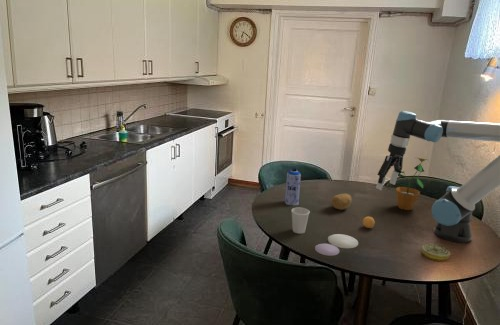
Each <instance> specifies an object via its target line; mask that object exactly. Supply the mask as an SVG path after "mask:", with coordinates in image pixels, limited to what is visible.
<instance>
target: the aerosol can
mask: <svg viewBox="0 0 500 325" xmlns="http://www.w3.org/2000/svg"><path fill="white" fill-rule="evenodd" d="M301 177H302V175H301V172H300V171H298V170H297V167H292V168H291V169H290V170H289V171H287V173H286V180H285V182H286V183H285V184H286V185H285V194H284V196H285V197H284V203H286V204H285V205H288V206H298V205H299V204H300V203H299V201H300V200H299V199H300V191H301V190H300V188H301V179H302V178H301Z"/></svg>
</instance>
